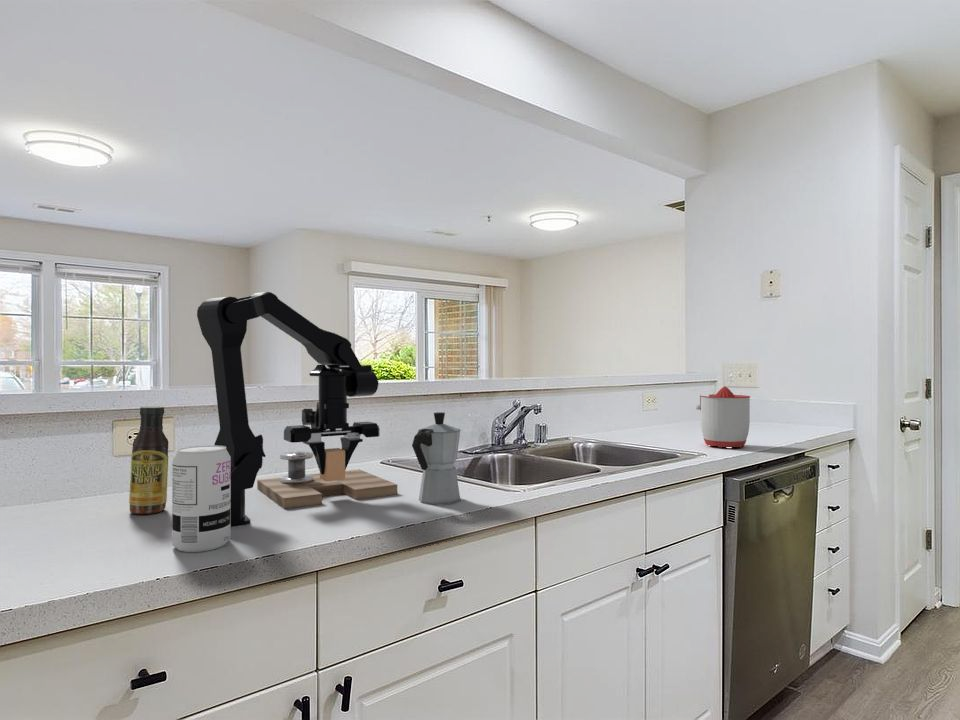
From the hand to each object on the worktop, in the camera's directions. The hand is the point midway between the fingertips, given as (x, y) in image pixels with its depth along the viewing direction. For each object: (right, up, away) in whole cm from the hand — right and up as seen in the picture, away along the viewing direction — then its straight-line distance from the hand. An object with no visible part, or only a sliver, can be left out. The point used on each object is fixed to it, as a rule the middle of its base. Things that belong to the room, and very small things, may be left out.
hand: (332, 473), depth 127 cm
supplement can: (-13, -5, -32) cm, 35 cm away
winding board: (-3, -5, +7) cm, 9 cm away
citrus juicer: (+111, -6, +77) cm, 135 cm away
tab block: (0, -1, 0) cm, 1 cm away
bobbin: (-10, -3, +8) cm, 13 cm away
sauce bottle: (-32, -5, -11) cm, 34 cm away
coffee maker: (+22, -5, -2) cm, 22 cm away
